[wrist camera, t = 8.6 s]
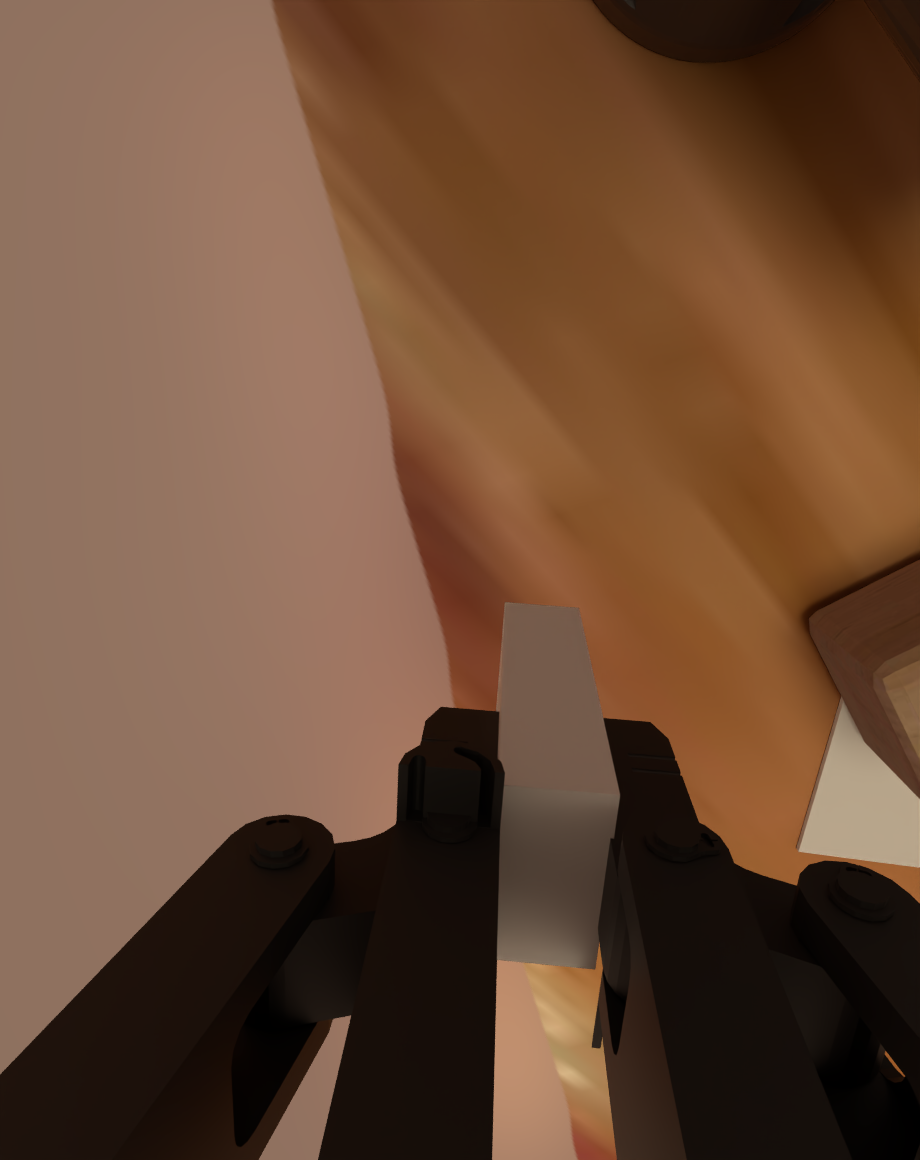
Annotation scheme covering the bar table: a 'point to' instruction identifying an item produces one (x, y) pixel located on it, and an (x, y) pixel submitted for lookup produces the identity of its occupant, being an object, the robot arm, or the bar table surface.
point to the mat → (860, 804)
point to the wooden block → (879, 665)
